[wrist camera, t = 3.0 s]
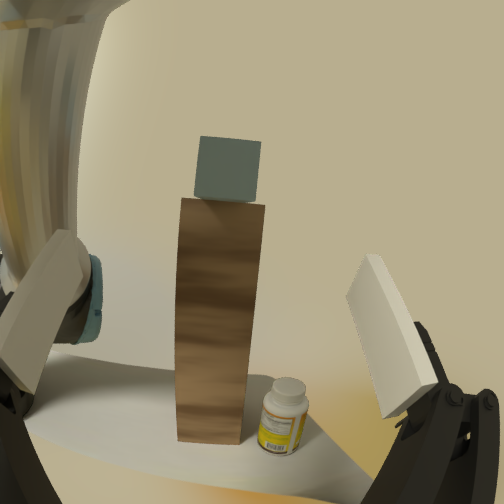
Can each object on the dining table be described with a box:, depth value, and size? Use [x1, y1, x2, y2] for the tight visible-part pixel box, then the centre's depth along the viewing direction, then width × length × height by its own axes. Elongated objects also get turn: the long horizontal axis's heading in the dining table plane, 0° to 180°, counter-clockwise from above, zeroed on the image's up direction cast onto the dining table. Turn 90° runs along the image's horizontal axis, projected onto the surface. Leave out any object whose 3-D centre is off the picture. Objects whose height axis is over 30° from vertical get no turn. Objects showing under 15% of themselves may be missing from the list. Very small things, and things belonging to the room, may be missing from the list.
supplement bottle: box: [258, 377, 309, 456], centre depth 32 cm, size 6×6×10 cm
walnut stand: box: [175, 198, 265, 445], centre depth 35 cm, size 10×8×30 cm
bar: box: [194, 136, 261, 203], centre depth 29 cm, size 22×4×4 cm, turn 6°
